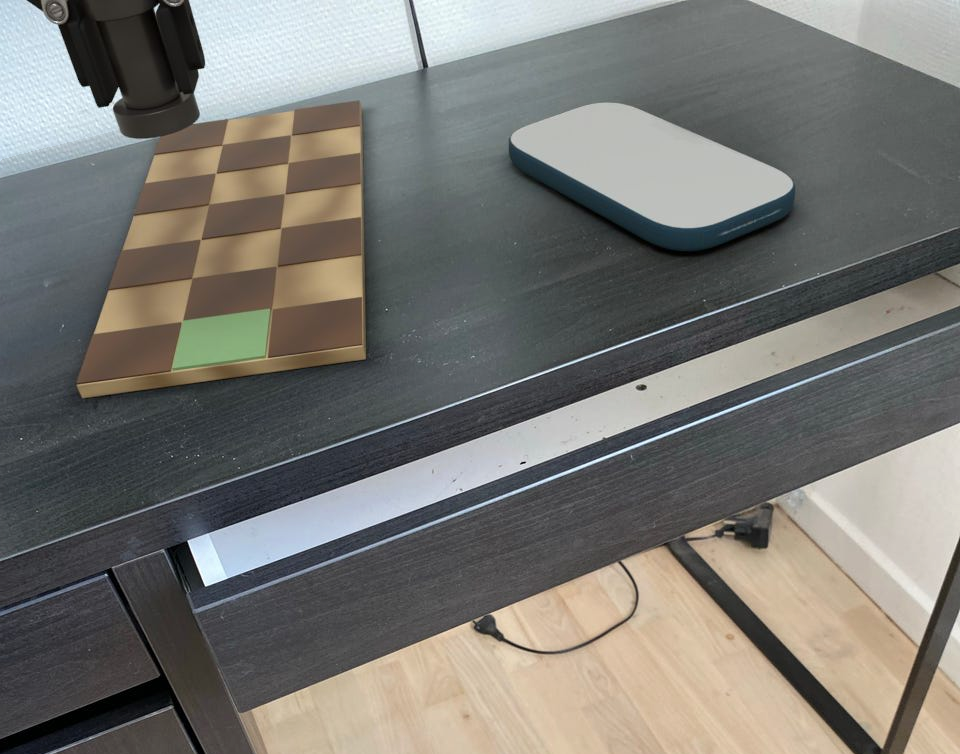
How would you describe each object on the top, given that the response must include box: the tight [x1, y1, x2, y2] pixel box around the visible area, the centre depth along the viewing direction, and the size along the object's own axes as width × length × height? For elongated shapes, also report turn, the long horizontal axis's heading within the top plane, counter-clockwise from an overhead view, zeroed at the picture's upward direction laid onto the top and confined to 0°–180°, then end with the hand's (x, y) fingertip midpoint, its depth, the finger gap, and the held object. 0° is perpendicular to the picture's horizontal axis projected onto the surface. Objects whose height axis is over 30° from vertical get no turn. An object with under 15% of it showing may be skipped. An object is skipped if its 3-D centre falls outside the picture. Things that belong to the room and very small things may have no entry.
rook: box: [80, 0, 201, 140], centre depth 53 cm, size 4×4×7 cm
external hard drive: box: [508, 101, 796, 252], centre depth 75 cm, size 24×12×2 cm, turn 31°
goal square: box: [172, 309, 271, 371], centre depth 65 cm, size 6×6×1 cm
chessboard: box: [75, 99, 367, 399], centre depth 78 cm, size 18×42×1 cm, turn 5°
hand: (148, 88), depth 54 cm, fingers closed on rook, 3 cm apart
